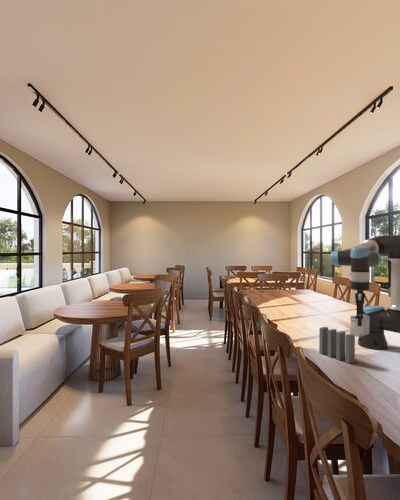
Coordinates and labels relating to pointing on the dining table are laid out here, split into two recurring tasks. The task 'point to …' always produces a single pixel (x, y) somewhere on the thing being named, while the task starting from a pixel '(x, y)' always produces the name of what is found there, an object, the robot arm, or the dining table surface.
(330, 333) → the domino
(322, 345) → the domino
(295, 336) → the dining table surface
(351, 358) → the domino
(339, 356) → the domino
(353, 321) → the medicine box
